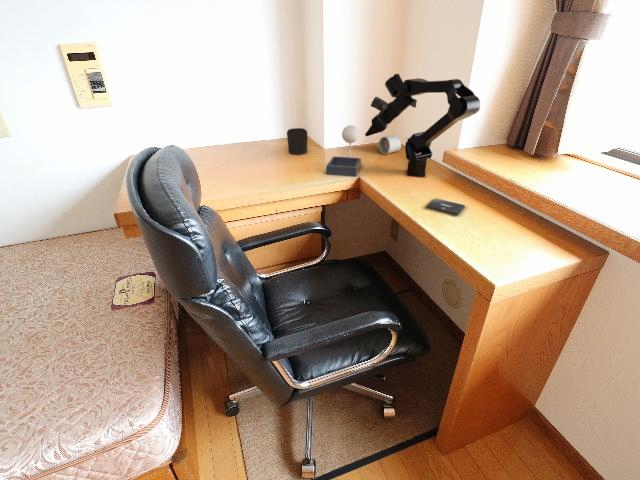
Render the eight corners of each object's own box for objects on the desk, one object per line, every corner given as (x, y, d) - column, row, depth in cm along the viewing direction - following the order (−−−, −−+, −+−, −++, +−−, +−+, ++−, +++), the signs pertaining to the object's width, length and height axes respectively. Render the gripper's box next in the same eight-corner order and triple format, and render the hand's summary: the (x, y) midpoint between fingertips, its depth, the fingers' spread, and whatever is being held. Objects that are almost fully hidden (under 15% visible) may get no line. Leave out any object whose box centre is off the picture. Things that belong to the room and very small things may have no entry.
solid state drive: (458, 215, 108) (458, 213, 108) (426, 207, 113) (427, 205, 113) (464, 207, 113) (465, 205, 113) (434, 199, 118) (435, 197, 118)
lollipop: (356, 157, 158) (357, 123, 150) (358, 162, 152) (360, 127, 144) (341, 158, 158) (341, 123, 150) (342, 163, 151) (342, 127, 144)
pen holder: (311, 150, 167) (311, 129, 162) (300, 156, 160) (299, 134, 155) (295, 148, 171) (294, 127, 166) (284, 153, 165) (282, 131, 159)
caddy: (360, 166, 148) (361, 158, 146) (356, 176, 138) (356, 167, 136) (333, 164, 151) (333, 156, 149) (326, 174, 141) (326, 165, 139)
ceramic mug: (401, 152, 162) (403, 136, 158) (388, 156, 159) (390, 138, 155) (386, 147, 170) (387, 131, 166) (373, 150, 166) (374, 134, 162)
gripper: (389, 86, 143) (361, 112, 152) (379, 94, 128) (349, 122, 137) (406, 107, 144) (378, 132, 154) (398, 117, 130) (367, 144, 139)
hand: (368, 132), depth 146 cm, fingers open, 9 cm apart
